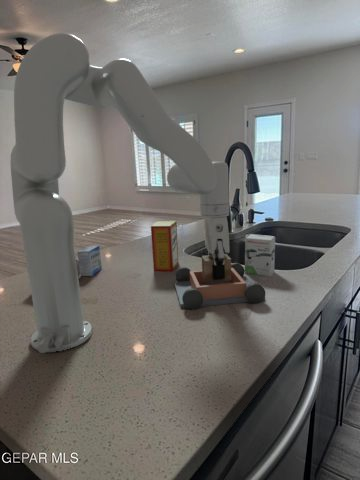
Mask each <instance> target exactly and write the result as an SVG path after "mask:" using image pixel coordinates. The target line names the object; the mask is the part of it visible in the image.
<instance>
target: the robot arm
mask: <svg viewBox="0 0 360 480" xmlns="http://www.w3.org/2000/svg"><path fill="white" fill-rule="evenodd" d="M149 84H150V83H148V81H147V79H146V78H145V77H144V75H143V74H142V72H141V71H140V69H139V68H138V66H136V64H135V63H133V61H132V60H129V59H128V58H127V59H126V58H116V59H113V60H112V61H110V62H108V63H107V64H105V65H104V66H103V67H100V66H99V67H98V66H95V65H91V58H90V53H89V50H88V48H87V46H86V45H85V43H84V42H83V41H82V40H81V39H80V38H79V37H77V36H76V35H74V34H71V33H66V32H58V33H54V34H50V35H48V36H46V37H44V38H42V39H40V40H39V41H37V42H36V43H35V44H33V45H32V46H31V47H30V49H29V50H28V51H27V52H26V54H25V55H24V56H23V57H22V60H21V61H20V64H19V67H18V69H17V71H16V76H15V80H14V88H13V103H14V104H13V110H14V113H13V114H14V118H13V119H14V121H13V122H14V134H15V135H14V136H15V137H14V138H15V142H14V143H15V145H14V146H13V147H12V150H11V153H10V176H11V177H10V178H11V186H12V187H11V188H12V198H13V199H12V200H13V209H14V215H15V218H16V220H17V222H18V223H19V225H20V229H21V235H22V242H23V243H22V244H23V252H24V259H25V264H26V271H27V275H28V280H29V288H30V292H31V293H30V294H31V301H32V305H33V313H34V319H35V324H36V325H35V326H36V330H35V332H33V333H32V335H31V337H30V344H31V346H32V348H33V349H34V350H36V351H38V352H39V353H40V354H45V353H57V352H56V351H59V352H63V350H64V351H67V349H68V350H71V349H73V347H74V348H76V347H78V346H80V345H82V344H83V343H85V342H86V341H87V340H89V339H90V337H91V335H92V334H93V327H92V324H91V323H90V322H89V321H87V320H84V315H83V314H84V313H83V305H82V298H81V297H82V296H81V290H80V282H79V277H78V272H77V265H76V260H77V259H76V258H77V257H76V252H75V250H76V248H75V229H74V228H75V224H74V216H73V211H72V209H71V206H70V205H69V203H68V202H67V201H66V199H64V198H63V196H61V195H60V189H59V188H60V187H59V179H60V178H61V177H62V176H63V174H64V172H65V170H66V166H67V165H66V164H67V162H66V161H67V160H66V150H65V135H64V134H65V132H64V103H65V100H67V101H71V102H76V103H80V104H84V105H86V106H91V107H92V106H93V107H95V108H101V109H111V110H112V109H113V110H114V109H116V110H117V112H118V113H119V114H120V115H121V116H122V118H123V119H124V121H125V122H126V123H127V125H128V126H129V128H130V129H131V130H132V132H133V134H135V136H136V137H137V139H138V140H139V141H140V142H142V143H143V144H144V145H145V146H148V147H149V148H151V149H154V150H156V151H158V152H160V153H162V154H163V155H165V156H166V157H168V158H169V159H170V160H171V161H172V162H173V163H174V165H173V166H171V168H170V169H168V172H167V175H166V176H167V177H166V181H167V184H168V185H169V187H170V188H171V190H173V191H175V192H177V193H181V194H189V195H198V196H199V207H200V208H199V210H200V211H199V212H200V214H199V215H200V217H201V218H204V220H203V222H204V224H203V225H204V244H205V248H206V249H207V255H210V254H212V255H213V265H212V273H213V280H219V279H224V278H225V265H224V264H225V263H224V254H227V255H228V254H230V251H231V248H230V247H231V246H230V236H229V235H230V233H229V223H228V217H229V216H230V202H229V201H230V199H229V198H230V197H229V195H230V194H229V193H230V192H229V189H230V188H229V187H230V186H229V185H230V184H229V182H230V181H229V166H228V163H227V162H225V161H212V159H211V158H210V156H209V155H208V153H207V151H206V150H205V148H204V147H203V145H202V144H201V143H200V142H199V141H198V140H197V139H196V138H195V137H194V136H193V135H192V134H191V133H190V132H188V131H187V130H186V129H185V128H183V127H182V126H181V125H180V124H179V123H178V122H176V121H175V120H173V119H172V117H171V116H170V115H169V114H168V112H167V111H166V109H165V108H164V106H163V104H162V103H161V101H160V100H159V99H158V97H157V96H156V94H155V92H154V91H153V89H152V87H151V86H150V85H149ZM215 252H218V254H215ZM216 256H218V257H217V258H216ZM70 348H71V349H70Z"/></svg>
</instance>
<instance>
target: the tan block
mask: <svg viewBox="0 0 360 480" xmlns="http://www.w3.org/2000/svg"><path fill="white" fill-rule="evenodd" d="M215 254H218V252H215ZM217 257H218V256H216V258H217ZM224 263H225V264H224V265H225V278H224V279H219V280H213V273H212V265H213V255H212V254H210V255H208V254H207V255H201V270H202V277H203V278H204V280H205V282H217V281H228V280H231V264H232V258H231V257H230V256H229V255H228V254H226V253H224Z"/></svg>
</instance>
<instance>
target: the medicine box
mask: <svg viewBox="0 0 360 480" xmlns="http://www.w3.org/2000/svg"><path fill="white" fill-rule="evenodd" d="M77 260H78V261H79V267H80V272H81V273H80V276H81V277H93V276H94V275H96V274H97V273H99V272H100V271H101V270H102V269H103V268H102V267H103V266H102V265H103V264H102V259H101V248H100V245H88V246H86V247H84V248H82V249H80V250H78V251H77Z"/></svg>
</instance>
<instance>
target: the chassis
mask: <svg viewBox="0 0 360 480" xmlns="http://www.w3.org/2000/svg"><path fill="white" fill-rule="evenodd" d="M245 274H246V273H245V267H243V265H242V264H241V263H238V262H233V263H232V262H231V280H228V281H217V282H205V280H204V278H203V277H202V269H200V270H191V269H190V268H189V267H185V266H182V267H179V268H178V269H177V270H176V271H175V274H174V276H175V277H174V278H175V280H176V281H174V283H173V284H174V289H175V292H176V296H177V300H178V303H179V307H180V309H185V308H187V309H188V310H197V309H199V308H200V307H205V306H206V307H207V306H217V305H218V306H219V305H226V304H227V305H228V304H238V303H251V304H253V305H255V304H259V303H261V302H263V301H266V290H265V288H264V287H263V286H262V285H261V284H260V283H258V282H252V280H251V279H249V277H248V276H247V275H245Z"/></svg>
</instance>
